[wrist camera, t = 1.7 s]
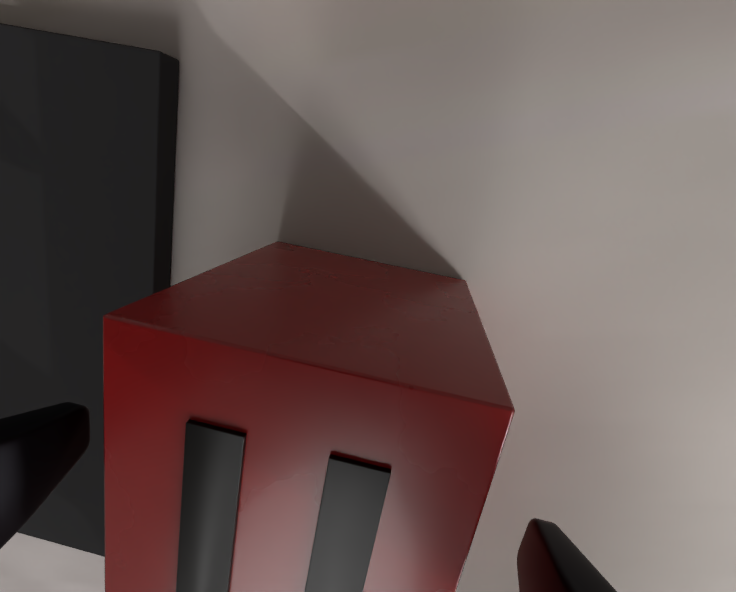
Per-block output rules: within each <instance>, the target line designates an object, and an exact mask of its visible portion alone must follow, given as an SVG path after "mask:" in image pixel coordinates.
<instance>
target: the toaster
mask: <svg viewBox="0 0 736 592" xmlns="http://www.w3.org/2000/svg"><path fill="white" fill-rule="evenodd" d="M514 412H515V410H514V406H513V404H512V401H511V399H510V396H509V393H508V391H507V388H506V385H505V383H504V380H503V378H502V375H501V372H500V370H499V367H498V364H497V362H496V359H495V357H494V354H493V351H492V349H491V346H490V343H489V341H488V338H487V336H486V333H485V330H484V328H483V325H482V322H481V320H480V317H479V315H478V312H477V309H476V307H475V304H474V301H473V299H472V296H471V294H470V291H469V288H468V286H467V283H466V281H465V280H461V279H456V278H451V277H446V276H441V275H437V274H432V273H427V272H422V271H417V270H412V269H408V268H403V267H398V266H393V265H388V264H384V263H379V262H374V261H369V260H364V259H360V258H355V257H350V256H345V255H340V254H335V253H331V252H326V251H321V250H316V249H311V248H307V247H302V246H297V245H292V244H287V243H282V242H275V243H272V244H270V245H268V246H265V247H263V248H260V249H258V250H256V251H253V252H251V253H249V254H246V255H244V256H242V257H239V258H237V259H234V260H232V261H230V262H227V263H225V264H223V265H220V266H218V267H216V268H213V269H211V270H209V271H206V272H204V273H201V274H199V275H197V276H194V277H192V278H190V279H187V280H185V281H183V282H180V283H178V284H175V285H173V286H171V287H168V288H166V289H164V290H161V291H159V292H157V293H154V294H152V295H150V296H147V297H145V298H142V299H140V300H138V301H135V302H133V303H131V304H128V305H126V306H124V307H121V308H119V309H116V310H114V311H112V312H109V313H107V314H105V315H104V316H103V413H104V527H105V592H456V589H457V586H458V583H459V580H460V577H461V574H462V571H463V568H464V565H465V562H466V559H467V556H468V553H469V550H470V546H471V543H472V540H473V537H474V534H475V531H476V528H477V525H478V522H479V519H480V516H481V513H482V510H483V507H484V504H485V501H486V498H487V495H488V492H489V488H490V485H491V482H492V479H493V476H494V473H495V470H496V467H497V464H498V461H499V458H500V455H501V452H502V449H503V446H504V443H505V440H506V437H507V434H508V430H509V427H510V424H511V421H512V418H513V415H514Z"/></svg>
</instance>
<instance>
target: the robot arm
mask: <svg viewBox="0 0 736 592" xmlns="http://www.w3.org/2000/svg"><path fill="white" fill-rule="evenodd" d="M89 443H90V411H89V409H88V408H87V407H86V406H84V405H80V404H76V403H72V402H64V403H60V404H56V405H52V406H48V407H44V408H40V409H36V410H33V411H29V412H25V413H21V414H17V415H13V416H9V417H5V418H1V419H0V549H1V548H2V547H3V546H4V545H5V544H6V543H7V542H8V541H9V540H10V539H11V538H12V537H13V535H14V534H15V533H16V532H17V531H18V530H19V529H20V528H21V527H22V526H23V525H24V524H25V523H26V522H27V521H28V520H29V519H30V517H31V516H32V515H33V514H34V513H35V512H36V511H37V509H38V508H39V507H40V506H41V505H42V504H43V502H44V501H45V500H46V499H47V498H48V496H49V495H50V494H51V493H52V492H53V490H54V489H55V488H56V487H57V486H58V484H59V483H60V482H61V481H62V480H63V478H64V477H65V476H66V475H67V474H68V472H69V471H70V470H71V469H72V468H73V466H74V465H75V464H76V463H77V462H78V460H79V459H80V458H81V457H82V456H83V455H84V453H85V452H86V450H87V448H88V446H89ZM517 569H518V580H519V591H520V592H617V591H616V590H615V589H614V588H613V587H612V586H611V585H610V584H609V583H608V581H607V580H606V579H605V578H604V577H603V576H602V575H601V574H600V573H599V571H598V570H597V569H596V568H595V567H594V566H593V565H592V564H591V563H590V562H589V560H588V559H587V558H586V557H585V556H584V555H583V554H582V553H581V552H580V550H579V549H578V548H577V547H576V546H575V545H574V544H573V543H572V542H571V540H570V539H569V538H568V537H567V536H566V535H565V534H564V533H563V532H562V531H561V529H560V528H559V527H558V526H557V525H556V524H554V523H552V522H548V521H544V520H540V519H536V518H534V519H531V520H530V522H529V524H528V526H527V529H526V531H525V534H524V537H523V539H522V542H521V545H520V548H519V550H518V555H517Z"/></svg>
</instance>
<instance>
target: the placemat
mask: <svg viewBox="0 0 736 592" xmlns="http://www.w3.org/2000/svg"><path fill="white" fill-rule="evenodd" d="M178 72H179V61H178V60H177V59H175V58H173V57H171V56H169V55H167V54H164V53H162V52H160V51H156V50H150V49H144V48H138V47H133V46H127V45H121V44H115V43H110V42H104V41H98V40H93V39H87V38H81V37H75V36H70V35H64V34H58V33H52V32H47V31H41V30H35V29H29V28H24V27H18V26H12V25H6V24H1V23H0V419H1V418H5V417H9V416H13V415H17V414H21V413H25V412H29V411H33V410H36V409H40V408H44V407H48V406H52V405H56V404H60V403H64V402H72V403H76V404H80V405H84V406H86V407H87V408H88V409H89V411H90V443H89V446H88V448H87V450H86V452H85V453H84V455H83V456H82V457H81V458H80V459H79V460H78V462H77V463H76V464H75V465H74V466H73V468H72V469H71V470H70V471H69V472H68V474H67V475H66V476H65V477H64V478H63V480H62V481H61V482H60V483H59V484H58V486H57V487H56V488H55V489H54V490H53V492H52V493H51V494H50V495H49V496H48V498H47V499H46V500H45V501H44V502H43V504H42V505H41V506H40V507H39V508H38V509H37V511H36V512H35V513H34V514H33V515H32V516H31V517H30V519H29V520H28V521H27V522H26V523H25V524H24V525H23V526H22V527H21V528H20V529H19V530H18V531H17V532H18V533H22V534H26V535H29V536H33V537H36V538H40V539H44V540H47V541H51V542H54V543H58V544H61V545H65V546H69V547H72V548H76V549H79V550H83V551H87V552H90V553H94V554H97V555H101V556H104V557H105V527H104V413H103V316H104V315H105V314H107V313H109V312H112V311H114V310H116V309H119V308H121V307H124V306H126V305H128V304H131V303H133V302H135V301H138V300H140V299H142V298H145V297H147V296H150V295H152V294H154V293H157V292H159V291H161V290H164V289H166V288H168V287H170V266H171V242H172V218H173V194H174V169H175V145H176V121H177V97H178Z"/></svg>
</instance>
